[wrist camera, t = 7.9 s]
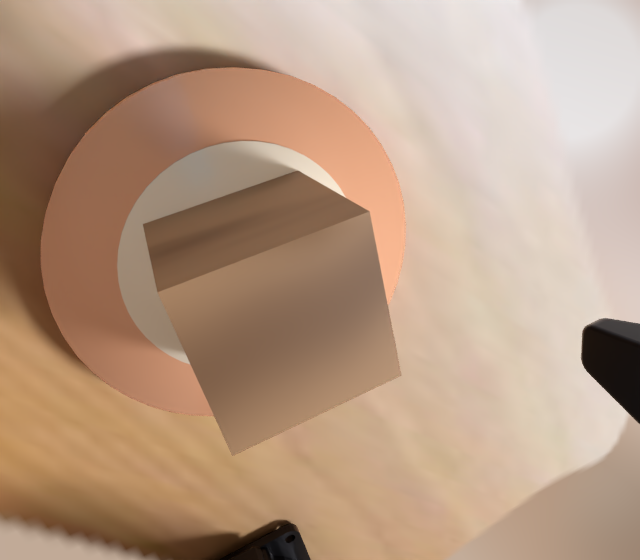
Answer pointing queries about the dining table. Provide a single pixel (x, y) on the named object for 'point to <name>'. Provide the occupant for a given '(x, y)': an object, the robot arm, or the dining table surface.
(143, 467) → the dining table surface
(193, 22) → the dining table surface
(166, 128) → the terracotta dish
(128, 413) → the dining table surface
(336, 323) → the walnut block
